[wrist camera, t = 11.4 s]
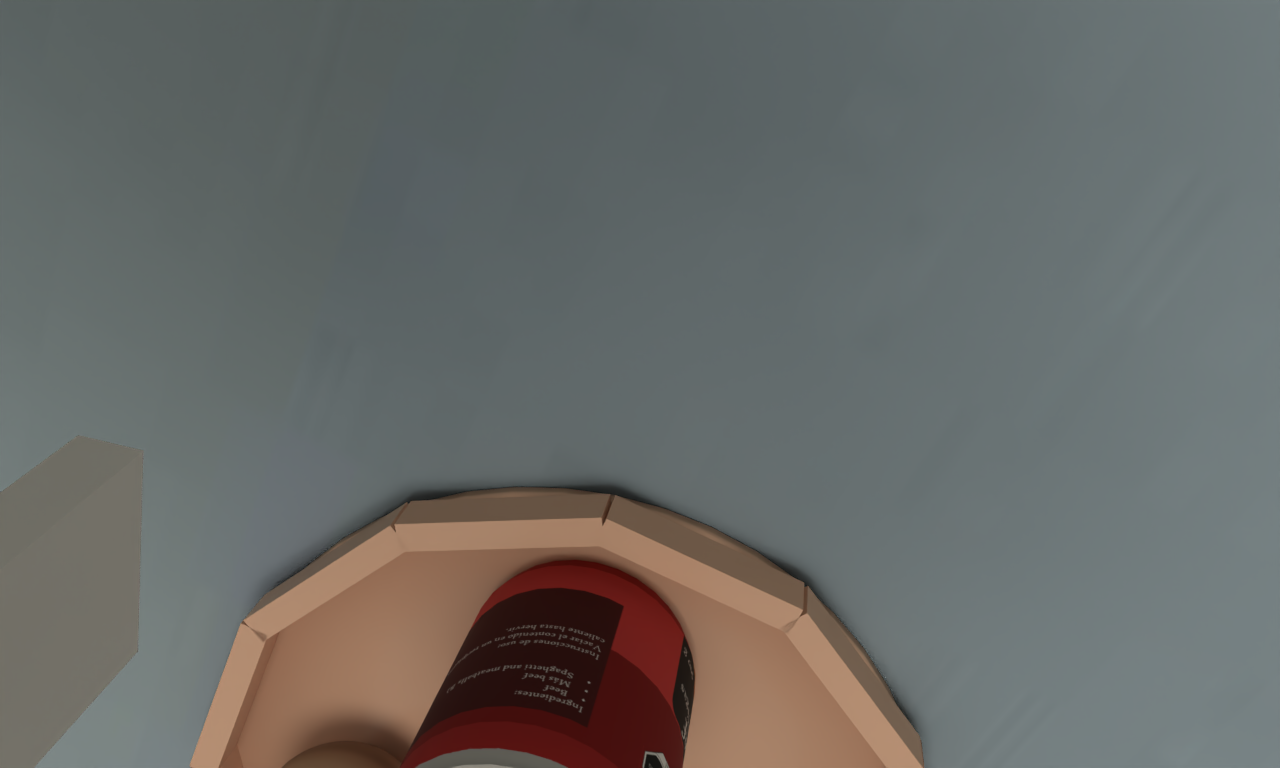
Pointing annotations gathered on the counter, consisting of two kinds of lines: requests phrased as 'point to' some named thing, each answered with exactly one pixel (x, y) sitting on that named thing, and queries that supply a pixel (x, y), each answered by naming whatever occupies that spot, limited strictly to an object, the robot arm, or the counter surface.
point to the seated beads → (344, 756)
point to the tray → (485, 560)
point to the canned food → (564, 678)
